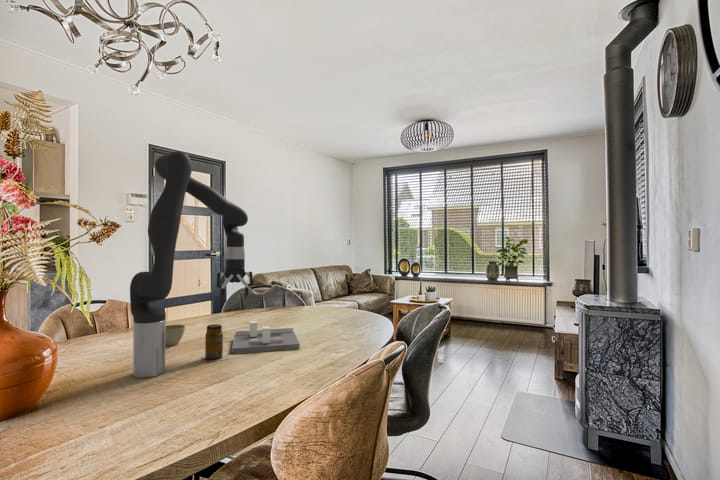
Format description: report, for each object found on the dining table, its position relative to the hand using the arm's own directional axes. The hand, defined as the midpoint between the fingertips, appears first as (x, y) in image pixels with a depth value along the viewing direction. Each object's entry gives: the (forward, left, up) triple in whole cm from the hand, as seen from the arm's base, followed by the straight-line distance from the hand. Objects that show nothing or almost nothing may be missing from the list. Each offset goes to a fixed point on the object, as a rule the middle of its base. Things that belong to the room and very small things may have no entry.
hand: (235, 297), depth 154 cm
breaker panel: (+1, -12, -20) cm, 24 cm away
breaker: (+7, -7, -18) cm, 21 cm away
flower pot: (+11, +26, -21) cm, 35 cm away
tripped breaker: (-5, -12, -18) cm, 23 cm away
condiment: (-14, +7, -21) cm, 26 cm away
